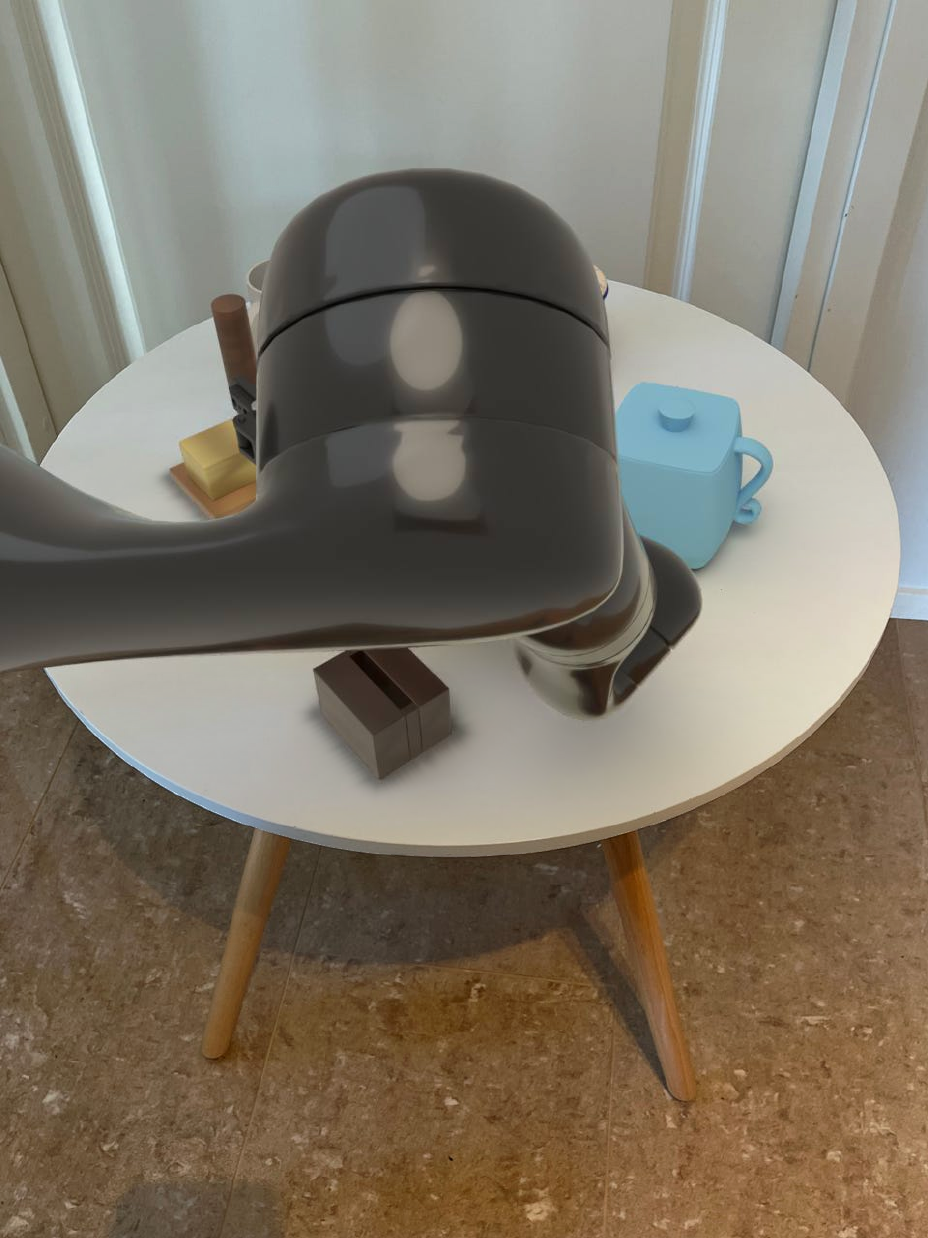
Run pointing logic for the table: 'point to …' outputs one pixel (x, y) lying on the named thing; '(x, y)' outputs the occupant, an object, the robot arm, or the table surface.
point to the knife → (235, 337)
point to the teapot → (686, 468)
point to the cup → (255, 296)
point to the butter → (216, 472)
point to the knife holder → (384, 705)
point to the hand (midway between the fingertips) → (288, 364)
